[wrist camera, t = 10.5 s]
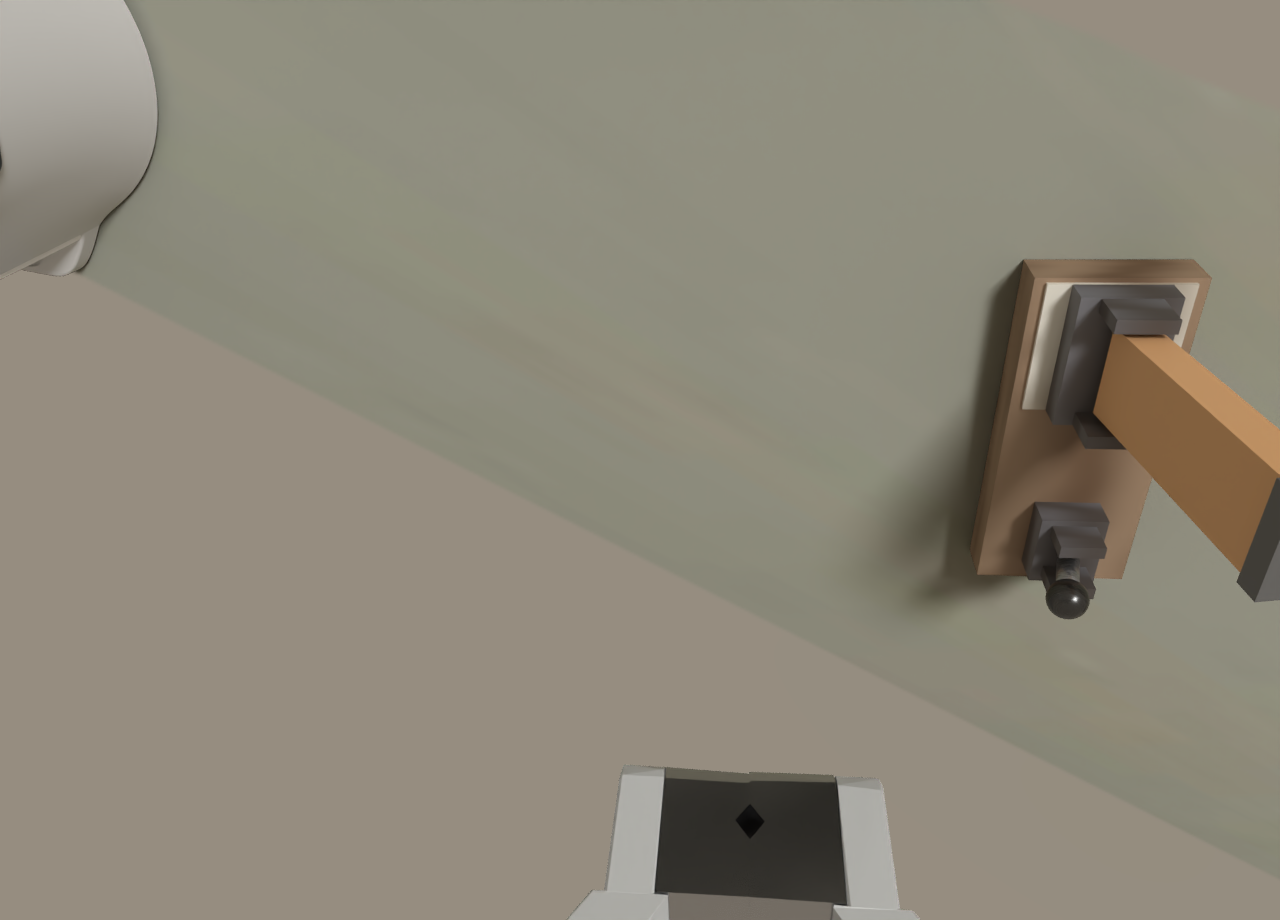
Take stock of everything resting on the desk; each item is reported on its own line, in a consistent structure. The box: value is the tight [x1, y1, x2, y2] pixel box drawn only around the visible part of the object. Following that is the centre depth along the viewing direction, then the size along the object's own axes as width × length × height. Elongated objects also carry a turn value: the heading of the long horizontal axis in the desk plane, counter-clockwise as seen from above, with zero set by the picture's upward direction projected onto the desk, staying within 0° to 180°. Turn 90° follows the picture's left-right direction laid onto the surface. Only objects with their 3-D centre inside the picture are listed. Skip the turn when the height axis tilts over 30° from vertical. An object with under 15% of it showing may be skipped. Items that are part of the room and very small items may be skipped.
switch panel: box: [970, 260, 1212, 599], centre depth 44 cm, size 7×16×6 cm, turn 2°
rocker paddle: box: [1093, 334, 1280, 602], centre depth 36 cm, size 2×4×12 cm, turn 2°
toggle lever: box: [1046, 556, 1090, 619], centre depth 45 cm, size 2×2×4 cm
